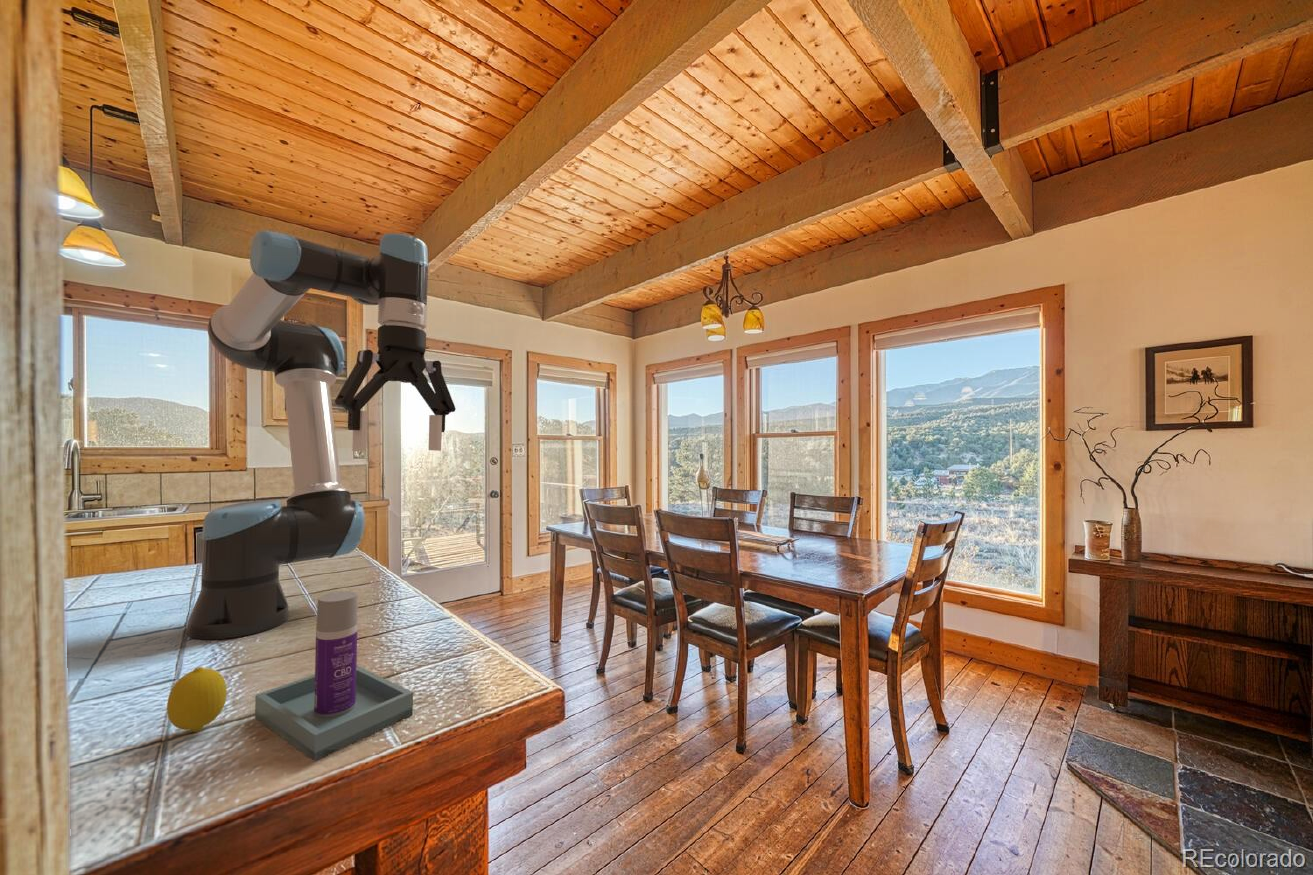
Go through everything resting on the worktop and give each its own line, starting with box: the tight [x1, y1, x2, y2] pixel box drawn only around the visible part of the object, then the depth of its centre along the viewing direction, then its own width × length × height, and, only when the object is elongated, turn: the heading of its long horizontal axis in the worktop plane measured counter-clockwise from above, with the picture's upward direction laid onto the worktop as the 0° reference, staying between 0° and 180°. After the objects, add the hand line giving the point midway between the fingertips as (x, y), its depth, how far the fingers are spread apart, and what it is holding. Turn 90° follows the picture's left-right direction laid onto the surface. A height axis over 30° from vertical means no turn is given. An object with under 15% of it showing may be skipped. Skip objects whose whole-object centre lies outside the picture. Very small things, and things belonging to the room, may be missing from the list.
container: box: [314, 590, 358, 718], centre depth 68 cm, size 5×5×15 cm
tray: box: [254, 665, 414, 762], centre depth 68 cm, size 16×12×3 cm
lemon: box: [166, 666, 228, 733], centre depth 64 cm, size 6×6×8 cm
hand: (399, 451), depth 88 cm, fingers open, 13 cm apart
